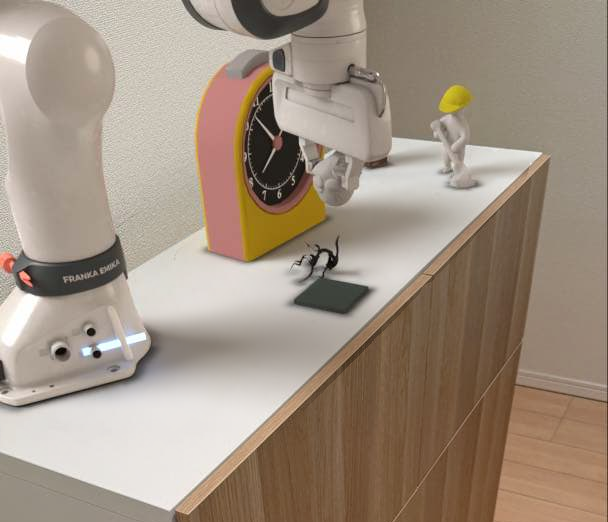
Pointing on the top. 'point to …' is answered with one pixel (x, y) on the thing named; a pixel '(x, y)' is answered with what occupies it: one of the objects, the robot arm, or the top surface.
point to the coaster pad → (331, 295)
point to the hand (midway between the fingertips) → (331, 181)
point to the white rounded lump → (332, 180)
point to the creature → (330, 263)
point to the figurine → (454, 134)
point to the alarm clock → (250, 164)
